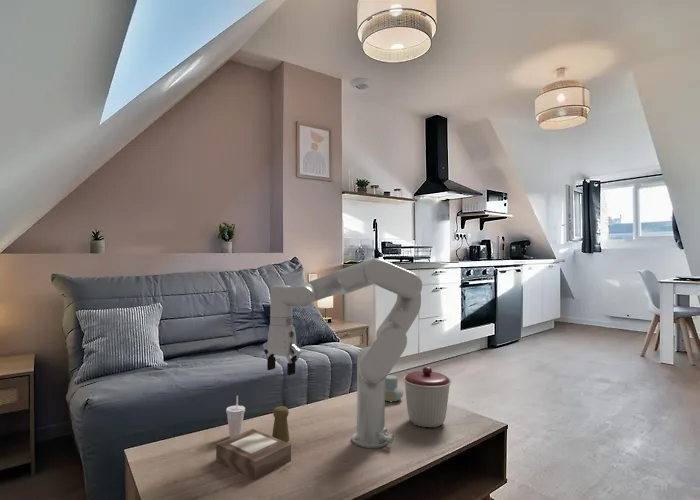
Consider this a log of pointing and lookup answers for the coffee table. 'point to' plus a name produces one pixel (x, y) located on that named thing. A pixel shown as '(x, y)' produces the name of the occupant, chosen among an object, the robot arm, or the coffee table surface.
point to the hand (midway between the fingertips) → (281, 371)
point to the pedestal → (253, 453)
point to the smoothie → (235, 419)
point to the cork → (281, 423)
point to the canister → (427, 397)
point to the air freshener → (392, 389)
